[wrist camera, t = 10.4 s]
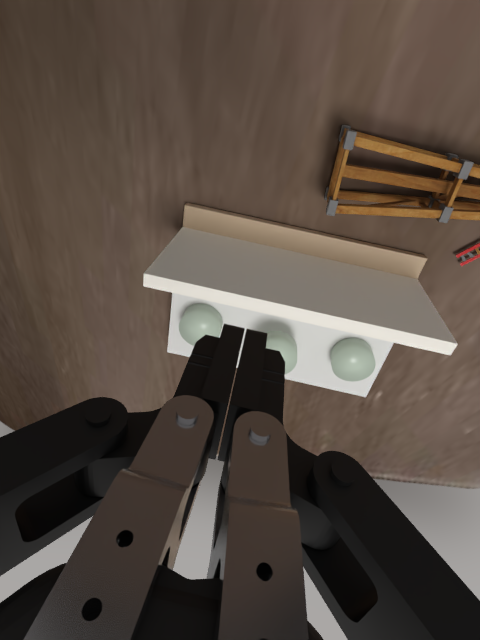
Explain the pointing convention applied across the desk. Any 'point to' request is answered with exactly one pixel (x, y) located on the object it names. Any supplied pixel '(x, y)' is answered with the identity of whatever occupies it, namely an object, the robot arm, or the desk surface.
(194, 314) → the button left
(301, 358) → the button panel
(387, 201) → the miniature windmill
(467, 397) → the desk surface
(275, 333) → the button middle
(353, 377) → the button right
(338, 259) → the pattern card
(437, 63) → the desk surface
